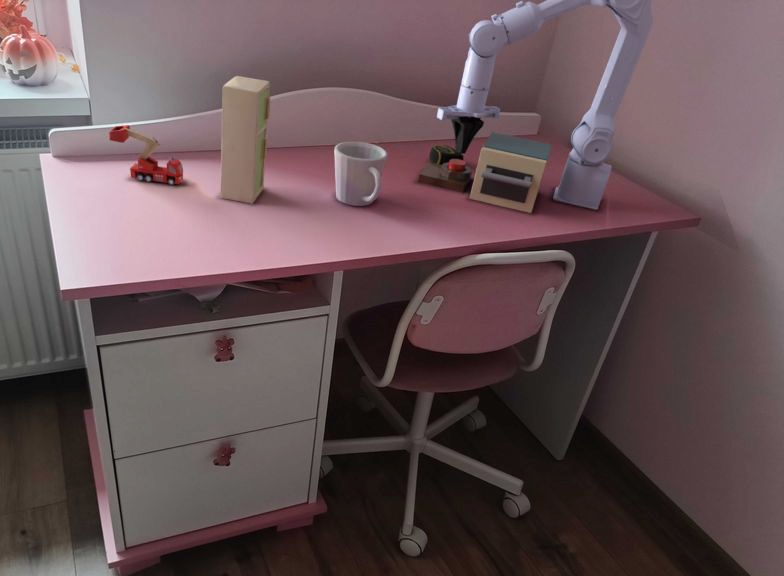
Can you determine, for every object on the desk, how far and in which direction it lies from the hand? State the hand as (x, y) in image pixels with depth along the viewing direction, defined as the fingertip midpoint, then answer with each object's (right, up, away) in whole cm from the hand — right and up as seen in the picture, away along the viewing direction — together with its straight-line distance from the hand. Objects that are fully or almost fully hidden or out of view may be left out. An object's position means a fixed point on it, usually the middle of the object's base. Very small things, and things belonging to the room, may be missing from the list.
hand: (460, 152), depth 144 cm
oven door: (+7, -13, -5) cm, 16 cm away
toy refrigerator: (-45, -12, -12) cm, 48 cm away
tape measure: (-1, +1, +14) cm, 14 cm away
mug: (-22, -13, -10) cm, 28 cm away
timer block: (-3, -5, +5) cm, 7 cm away
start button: (0, -3, +3) cm, 4 cm away
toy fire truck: (-64, -9, -11) cm, 66 cm away
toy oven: (+10, -9, +2) cm, 13 cm away
